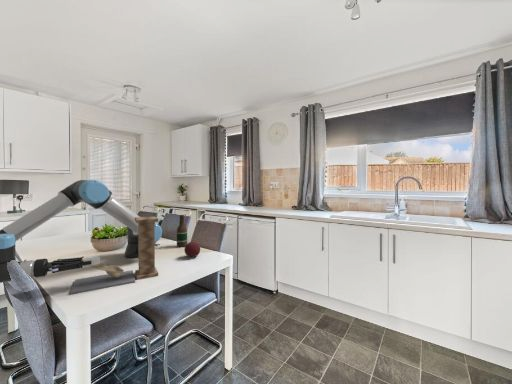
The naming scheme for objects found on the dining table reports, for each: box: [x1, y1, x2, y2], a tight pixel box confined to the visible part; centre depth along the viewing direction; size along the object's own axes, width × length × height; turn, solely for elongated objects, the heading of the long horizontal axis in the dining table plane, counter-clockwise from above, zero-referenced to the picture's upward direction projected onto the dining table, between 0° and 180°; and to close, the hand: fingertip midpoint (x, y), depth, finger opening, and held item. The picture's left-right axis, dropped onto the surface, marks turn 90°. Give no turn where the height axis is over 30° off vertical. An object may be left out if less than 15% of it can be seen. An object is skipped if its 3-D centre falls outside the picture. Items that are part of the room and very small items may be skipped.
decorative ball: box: [184, 241, 201, 258], centre depth 155 cm, size 10×10×10 cm
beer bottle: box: [176, 214, 188, 248], centre depth 180 cm, size 8×8×24 cm
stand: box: [134, 216, 159, 280], centre depth 125 cm, size 10×10×30 cm
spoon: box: [81, 257, 125, 277], centre depth 115 cm, size 19×7×3 cm, turn 123°
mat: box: [70, 269, 136, 295], centre depth 116 cm, size 25×16×1 cm, turn 121°
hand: (100, 259), depth 114 cm, fingers closed on spoon, 2 cm apart
